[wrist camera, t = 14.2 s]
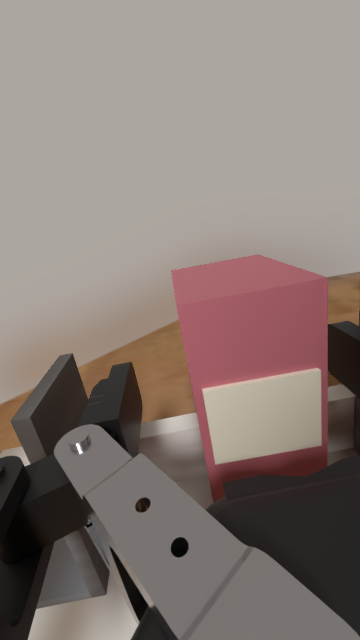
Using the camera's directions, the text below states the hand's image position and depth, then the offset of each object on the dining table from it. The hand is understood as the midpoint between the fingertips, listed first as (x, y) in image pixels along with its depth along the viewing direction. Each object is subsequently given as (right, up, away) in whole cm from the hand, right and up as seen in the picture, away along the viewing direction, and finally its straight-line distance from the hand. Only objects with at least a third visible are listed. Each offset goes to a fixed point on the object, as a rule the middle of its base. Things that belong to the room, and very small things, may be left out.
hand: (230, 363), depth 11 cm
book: (+2, -8, +1) cm, 8 cm away
